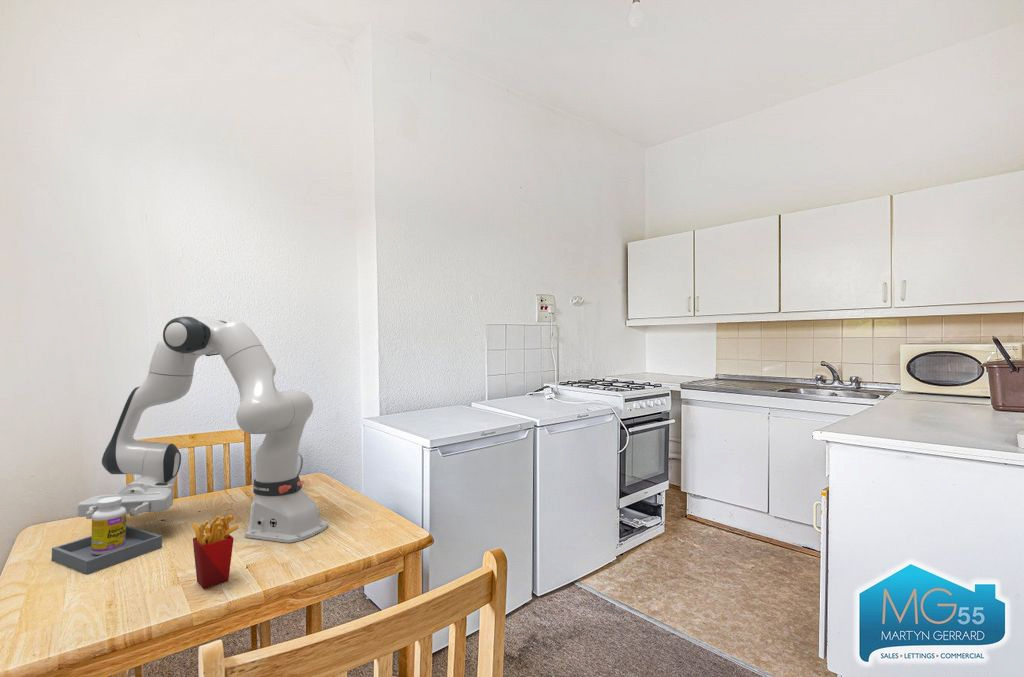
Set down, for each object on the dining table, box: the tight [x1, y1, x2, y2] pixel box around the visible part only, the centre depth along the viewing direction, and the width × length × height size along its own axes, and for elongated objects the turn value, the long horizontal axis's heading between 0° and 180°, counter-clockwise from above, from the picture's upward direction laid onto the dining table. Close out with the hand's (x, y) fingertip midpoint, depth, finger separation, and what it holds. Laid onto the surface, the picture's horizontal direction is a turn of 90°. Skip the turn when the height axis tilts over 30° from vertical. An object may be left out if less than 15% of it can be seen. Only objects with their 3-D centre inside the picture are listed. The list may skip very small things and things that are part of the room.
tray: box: [51, 524, 163, 575], centre depth 121 cm, size 16×16×3 cm
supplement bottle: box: [91, 497, 127, 555], centre depth 121 cm, size 7×7×13 cm
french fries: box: [191, 514, 240, 590], centre depth 107 cm, size 9×8×15 cm
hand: (111, 514), depth 122 cm, fingers open, 8 cm apart
